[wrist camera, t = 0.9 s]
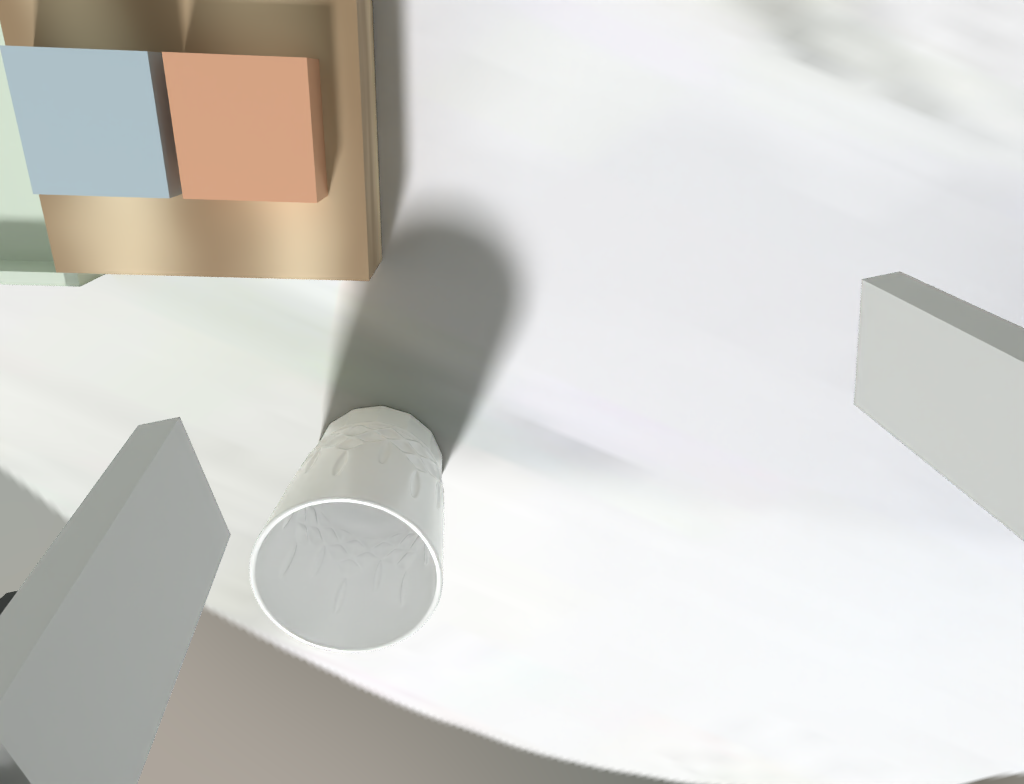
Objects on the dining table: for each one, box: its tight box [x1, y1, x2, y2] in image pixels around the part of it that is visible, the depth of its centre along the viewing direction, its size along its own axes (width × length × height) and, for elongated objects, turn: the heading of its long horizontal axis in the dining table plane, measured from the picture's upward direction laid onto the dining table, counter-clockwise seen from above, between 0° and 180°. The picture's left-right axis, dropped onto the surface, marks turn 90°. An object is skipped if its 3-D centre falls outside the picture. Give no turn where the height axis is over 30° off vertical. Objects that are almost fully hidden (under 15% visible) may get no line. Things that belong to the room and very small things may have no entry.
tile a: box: [162, 52, 328, 203], centre depth 27 cm, size 5×5×2 cm
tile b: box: [0, 45, 182, 198], centre depth 26 cm, size 5×5×2 cm
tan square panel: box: [0, 0, 382, 281], centre depth 29 cm, size 13×12×4 cm
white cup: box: [249, 406, 444, 653], centre depth 34 cm, size 8×8×10 cm
